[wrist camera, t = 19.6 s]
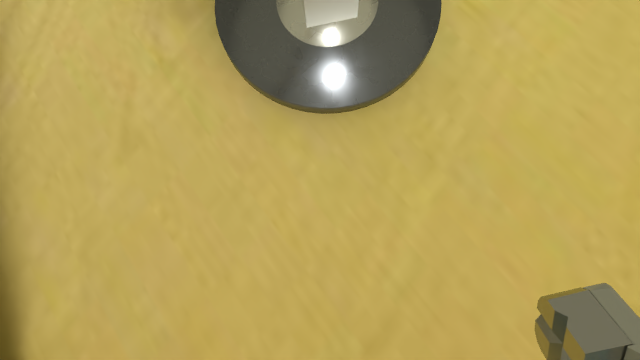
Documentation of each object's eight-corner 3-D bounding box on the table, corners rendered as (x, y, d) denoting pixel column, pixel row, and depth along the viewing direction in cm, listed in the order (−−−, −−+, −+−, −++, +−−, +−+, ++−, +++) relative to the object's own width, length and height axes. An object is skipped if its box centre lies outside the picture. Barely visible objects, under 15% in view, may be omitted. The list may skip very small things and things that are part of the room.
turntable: (239, 134, 41) (235, 129, 40) (203, -62, 45) (198, -75, 44) (463, 87, 42) (468, 80, 40) (407, -105, 46) (410, -118, 44)
